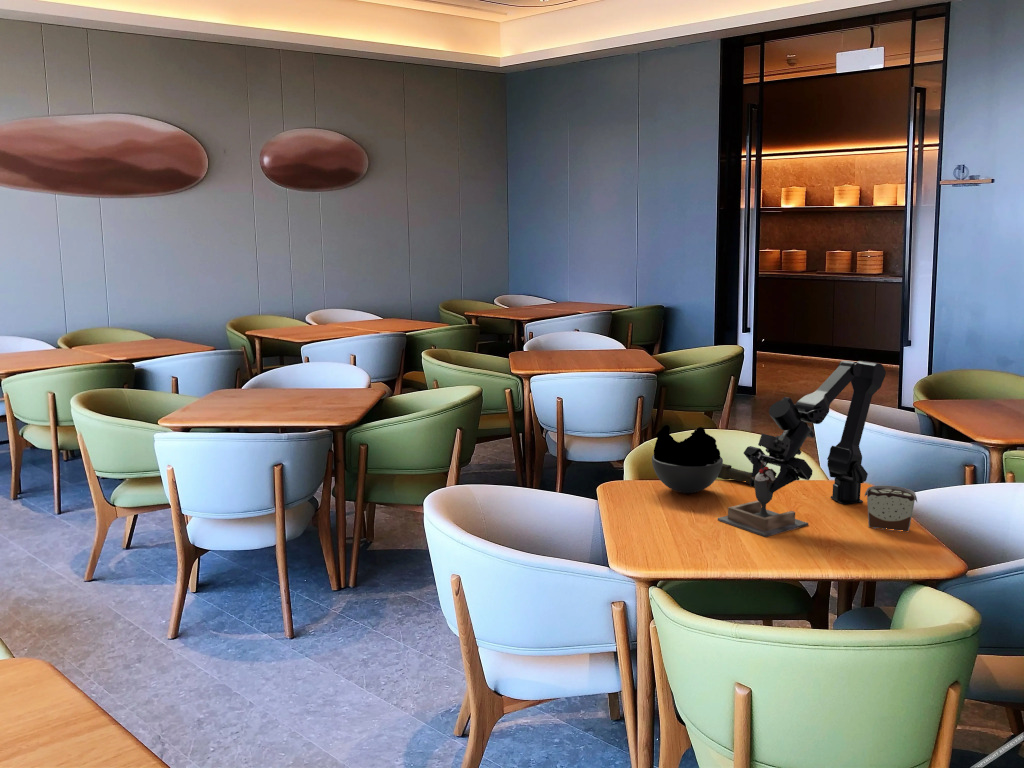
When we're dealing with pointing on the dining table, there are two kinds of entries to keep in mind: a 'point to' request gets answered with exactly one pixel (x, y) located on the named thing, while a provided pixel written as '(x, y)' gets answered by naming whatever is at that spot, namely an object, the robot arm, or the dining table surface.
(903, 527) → the food container
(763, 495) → the sundae
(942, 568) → the dining table surface
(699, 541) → the dining table surface
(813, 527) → the dining table surface
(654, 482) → the dining table surface
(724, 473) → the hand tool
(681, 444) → the coal bowl
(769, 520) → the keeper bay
